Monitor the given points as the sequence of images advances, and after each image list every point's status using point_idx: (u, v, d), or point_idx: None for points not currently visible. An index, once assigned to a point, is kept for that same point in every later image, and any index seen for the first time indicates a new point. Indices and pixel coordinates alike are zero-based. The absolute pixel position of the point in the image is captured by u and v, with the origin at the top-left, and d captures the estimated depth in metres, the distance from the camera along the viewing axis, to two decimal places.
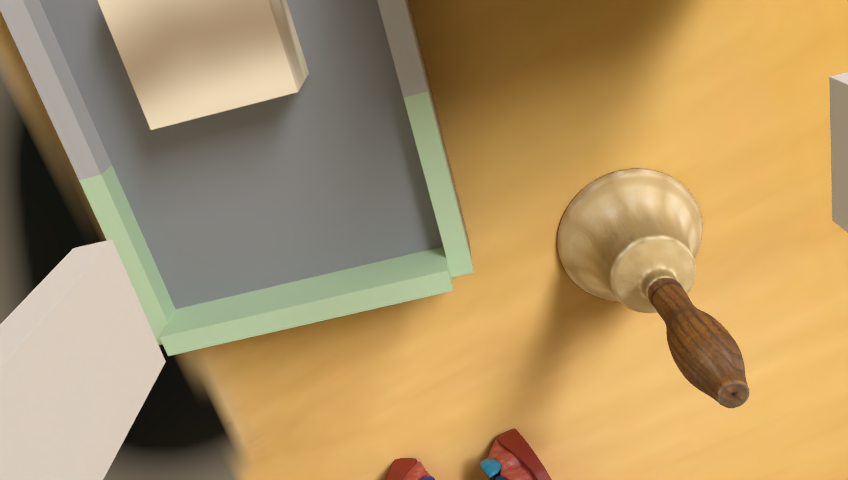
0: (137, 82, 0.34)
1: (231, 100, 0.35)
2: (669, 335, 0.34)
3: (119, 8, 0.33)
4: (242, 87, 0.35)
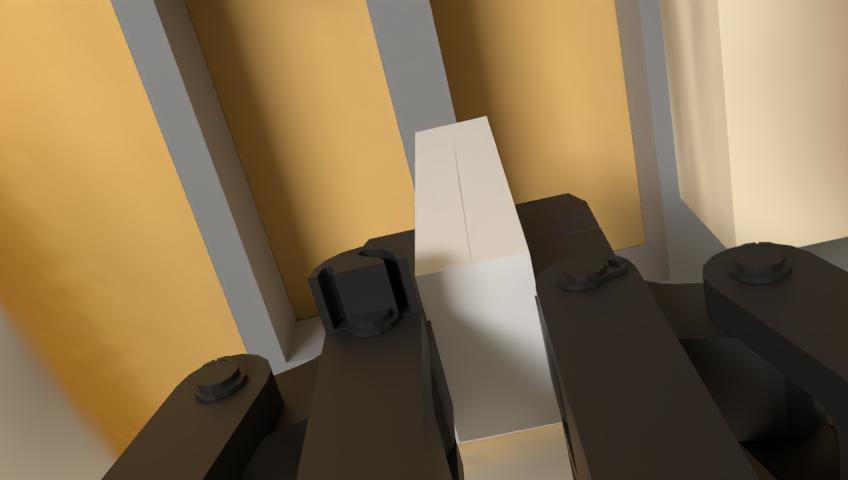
0: None
1: None
2: None
3: (811, 213, 0.17)
4: None
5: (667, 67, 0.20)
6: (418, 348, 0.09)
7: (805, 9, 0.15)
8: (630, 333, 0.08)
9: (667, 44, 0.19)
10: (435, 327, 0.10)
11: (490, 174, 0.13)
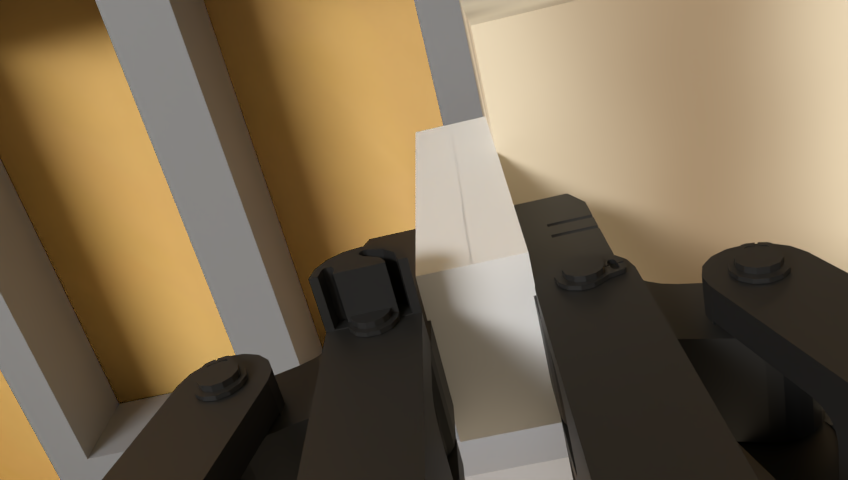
0: None
1: None
2: None
3: None
4: None
5: None
6: (419, 348, 0.09)
7: (588, 104, 0.13)
8: (629, 334, 0.08)
9: None
10: (436, 327, 0.10)
11: (489, 174, 0.13)
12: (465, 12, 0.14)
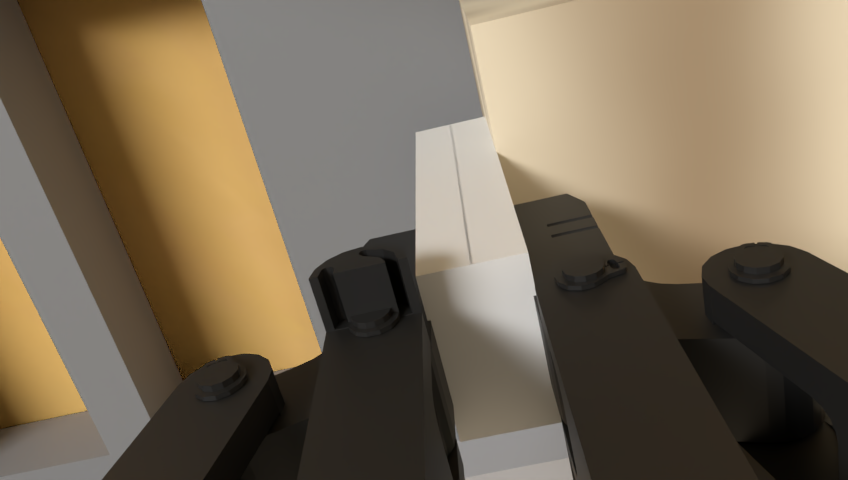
0: None
1: None
2: None
3: None
4: None
5: None
6: (419, 348, 0.09)
7: (588, 104, 0.13)
8: (629, 333, 0.08)
9: None
10: (436, 327, 0.10)
11: (489, 174, 0.13)
12: (465, 12, 0.14)
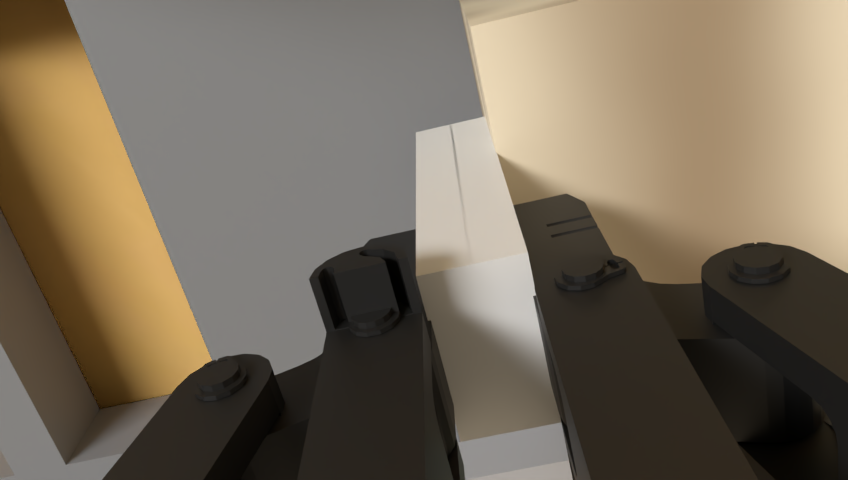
0: None
1: None
2: None
3: None
4: None
5: None
6: (419, 348, 0.09)
7: (589, 105, 0.13)
8: (629, 333, 0.08)
9: None
10: (436, 327, 0.10)
11: (489, 175, 0.13)
12: (465, 13, 0.14)
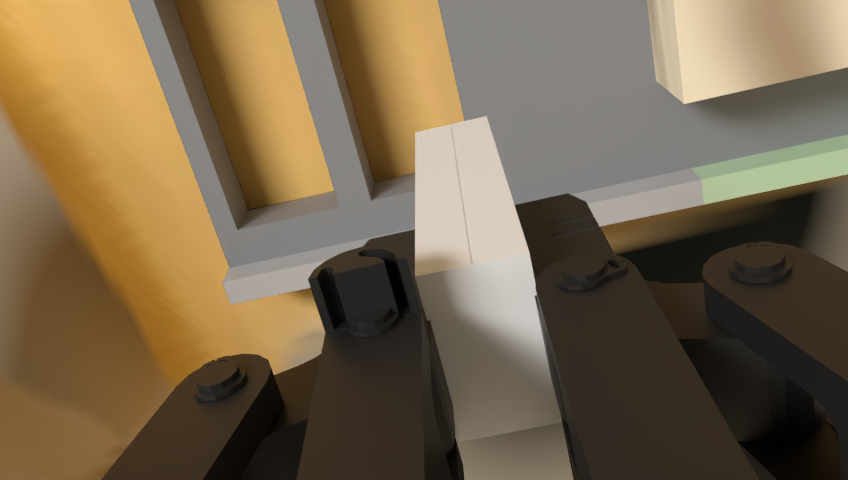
0: (811, 68, 0.29)
1: None
2: None
3: (726, 74, 0.29)
4: None
5: None
6: (418, 348, 0.09)
7: None
8: (630, 334, 0.08)
9: None
10: (435, 327, 0.10)
11: (490, 174, 0.13)
12: None
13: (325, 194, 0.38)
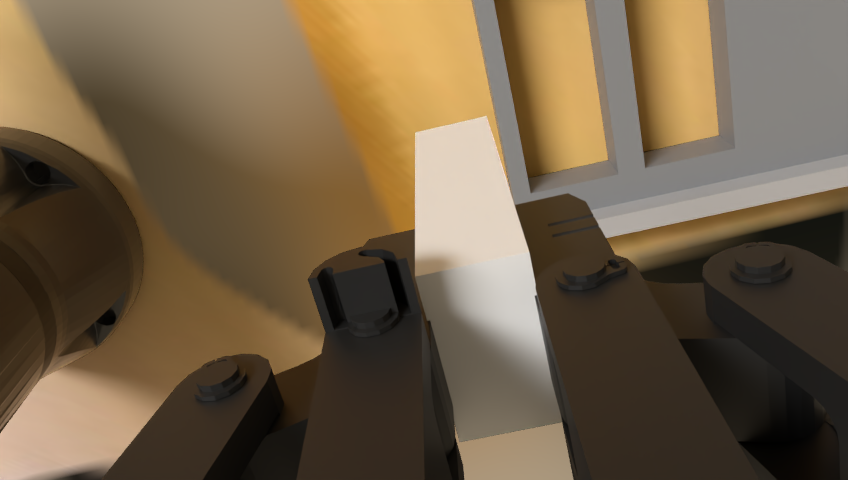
0: None
1: None
2: None
3: None
4: None
5: None
6: (418, 348, 0.09)
7: None
8: (630, 333, 0.08)
9: None
10: (435, 327, 0.10)
11: (490, 174, 0.13)
12: None
13: (592, 164, 0.46)
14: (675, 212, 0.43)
